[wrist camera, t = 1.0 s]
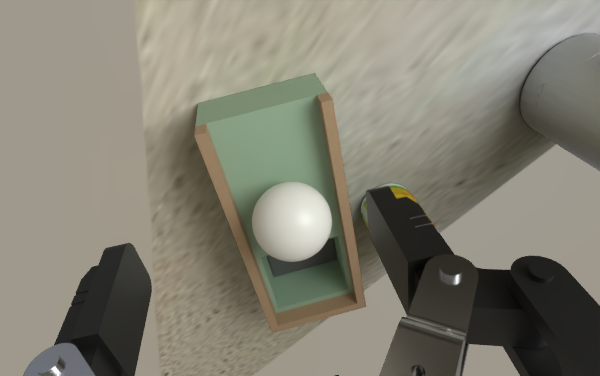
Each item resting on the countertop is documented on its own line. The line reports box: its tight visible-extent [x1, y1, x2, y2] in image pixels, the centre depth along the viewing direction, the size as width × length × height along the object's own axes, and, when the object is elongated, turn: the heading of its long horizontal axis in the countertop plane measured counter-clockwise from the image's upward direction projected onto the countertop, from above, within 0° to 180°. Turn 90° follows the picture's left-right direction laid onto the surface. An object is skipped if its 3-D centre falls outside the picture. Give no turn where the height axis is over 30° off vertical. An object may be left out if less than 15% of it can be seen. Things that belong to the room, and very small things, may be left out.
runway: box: [194, 73, 366, 333], centre depth 35 cm, size 10×22×6 cm, turn 12°
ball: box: [252, 182, 332, 262], centre depth 30 cm, size 6×6×6 cm
